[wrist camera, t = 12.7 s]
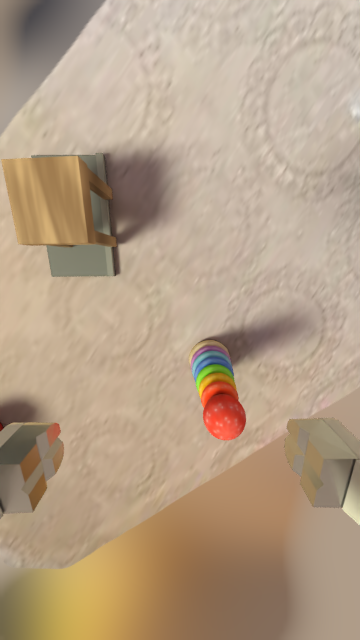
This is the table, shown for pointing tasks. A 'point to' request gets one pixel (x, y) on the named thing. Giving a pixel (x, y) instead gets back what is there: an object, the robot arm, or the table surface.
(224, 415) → the stacking toy
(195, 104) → the table surface
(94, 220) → the mat
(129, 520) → the table surface
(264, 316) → the table surface
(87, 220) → the stool
